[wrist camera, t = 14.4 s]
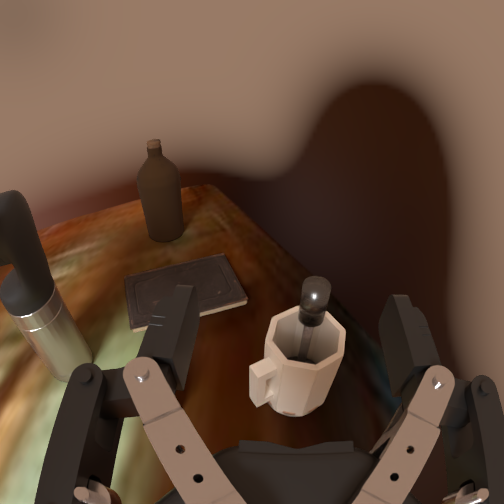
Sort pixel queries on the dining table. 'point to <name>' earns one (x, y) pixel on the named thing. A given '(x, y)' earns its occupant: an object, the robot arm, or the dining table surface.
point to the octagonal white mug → (296, 365)
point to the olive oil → (160, 195)
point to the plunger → (311, 312)
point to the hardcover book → (186, 273)
